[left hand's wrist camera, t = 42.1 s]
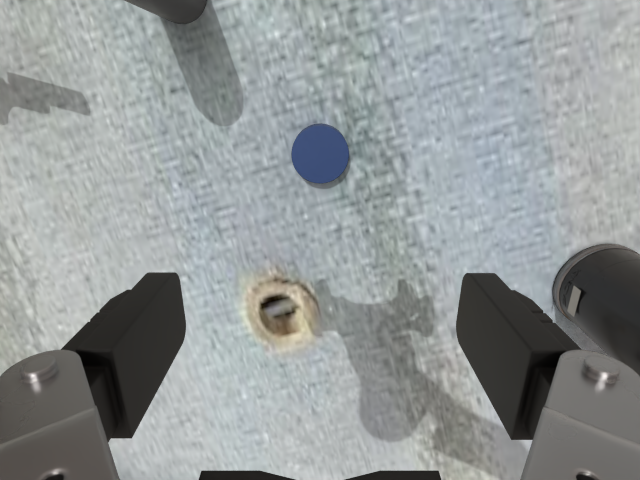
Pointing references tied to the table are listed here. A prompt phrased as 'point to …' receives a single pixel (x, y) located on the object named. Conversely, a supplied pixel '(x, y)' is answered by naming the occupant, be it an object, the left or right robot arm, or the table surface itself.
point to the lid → (320, 153)
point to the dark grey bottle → (173, 9)
